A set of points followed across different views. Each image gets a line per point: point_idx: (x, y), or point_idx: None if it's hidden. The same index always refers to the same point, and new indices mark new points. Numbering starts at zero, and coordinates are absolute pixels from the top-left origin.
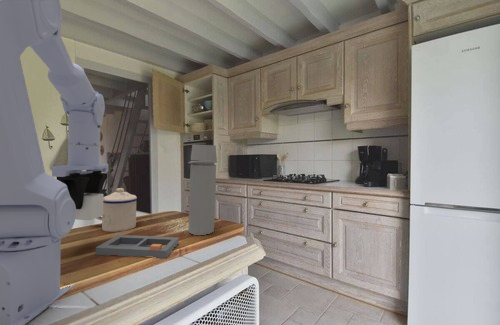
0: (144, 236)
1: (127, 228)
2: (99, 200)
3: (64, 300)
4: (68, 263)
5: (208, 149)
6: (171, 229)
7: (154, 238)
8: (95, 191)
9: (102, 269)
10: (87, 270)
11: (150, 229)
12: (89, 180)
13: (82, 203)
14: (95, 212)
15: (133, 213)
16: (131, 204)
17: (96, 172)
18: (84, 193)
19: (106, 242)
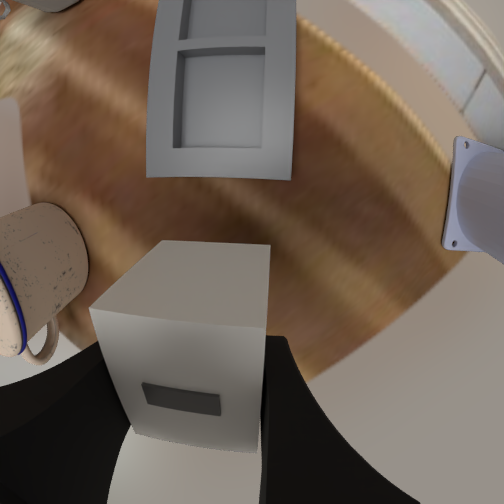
0: (155, 63)
1: (58, 211)
2: (159, 289)
3: (483, 134)
4: (336, 232)
5: None
6: (38, 78)
7: (177, 19)
8: (96, 380)
9: (371, 110)
10: (379, 149)
11: (40, 144)
12: (79, 478)
13: (271, 351)
14: (225, 256)
15: (8, 216)
16: None
17: (7, 497)
18: (145, 420)
19: (235, 169)
